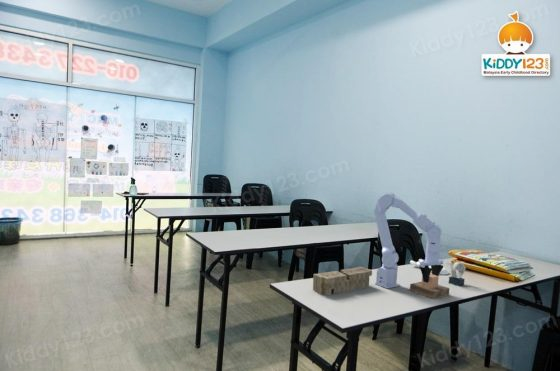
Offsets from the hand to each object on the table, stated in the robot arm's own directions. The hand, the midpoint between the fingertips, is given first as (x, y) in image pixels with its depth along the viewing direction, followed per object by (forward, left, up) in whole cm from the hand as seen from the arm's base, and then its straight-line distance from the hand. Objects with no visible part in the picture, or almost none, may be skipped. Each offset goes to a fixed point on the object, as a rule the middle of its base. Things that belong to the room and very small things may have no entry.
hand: (430, 281), depth 175 cm
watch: (+25, +2, -6) cm, 26 cm away
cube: (0, 0, -2) cm, 2 cm away
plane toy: (+35, +24, -6) cm, 43 cm away
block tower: (-34, +22, -6) cm, 40 cm away
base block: (0, 0, -5) cm, 5 cm away
